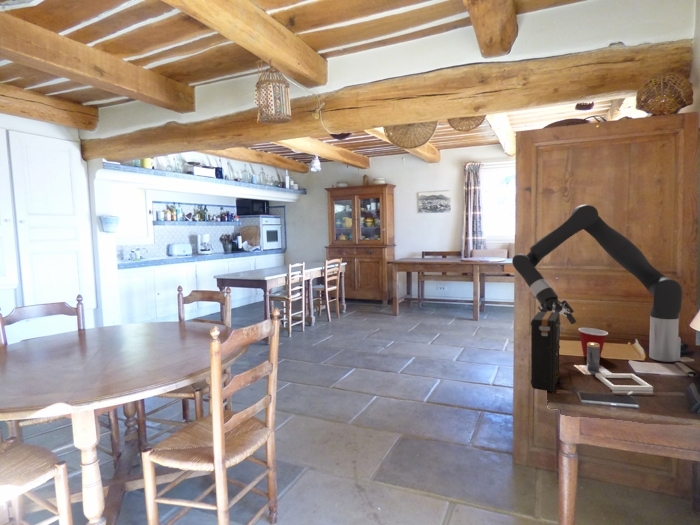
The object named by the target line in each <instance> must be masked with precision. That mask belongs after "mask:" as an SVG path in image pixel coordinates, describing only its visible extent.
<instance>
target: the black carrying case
mask: <svg viewBox="0 0 700 525" xmlns="http://www.w3.org/2000/svg"><path fill="white" fill-rule="evenodd" d="M560 315H561V314H560V313H558V312H556V313H553V312H551V311H547V312H541V311H539V312H537V313H536V314H535V316H534V317H533V319H532V320H531V321H530V326H531V327H530V328H531V332H530V334H531V340H530V341H531V342H530V343H531V344H530V348H531V350H530V353H531V354H530V356H531V357H530V359H531V360H530V361H531V363H530V364H531V368H530V369H531V370H530V373H531V374H530V375H531V376H530V377H531V378H530V385H531V387H532V389H534V390H540V391H546V392H551V393H552V394H553V393H555V391H556V385H557V383H559V382H558V381H559V380H558V378H560V376H561V373H560V349H561V345H560V339H561V337H560V336H561V334H560V333H561V331H560V330H561V324H559V322H561V318H560Z"/></svg>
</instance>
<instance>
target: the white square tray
mask: <svg viewBox="0 0 700 525" xmlns="http://www.w3.org/2000/svg"><path fill="white" fill-rule="evenodd" d="M595 378H597V379H598V380H599V381H601V383H603V384H604V385H605V386H606V387H608V388H610V390H609V391H610V392H611V393H612V394H614V393H615V394H629V393H628V392H630V391H633V393H632V394H654V386H652V385H651V384H649V383H647V382H646V381H645V380H643V379H642V378H640V377H639V376H636V374H634V373H613V372H611V373H596V374H595ZM607 378H608V379H632V380H633V381H635V382H636V383H638V384H639V385H624V384H623V385H620V384H617V385H616V384H613V383H612V382H611V381H610V380H608V379H607Z"/></svg>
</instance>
